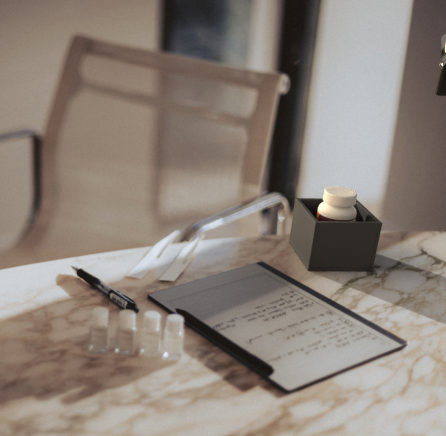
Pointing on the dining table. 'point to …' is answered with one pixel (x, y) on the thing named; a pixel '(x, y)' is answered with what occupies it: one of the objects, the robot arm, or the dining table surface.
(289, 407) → the dining table surface
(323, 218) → the pill bottle
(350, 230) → the waste bin
